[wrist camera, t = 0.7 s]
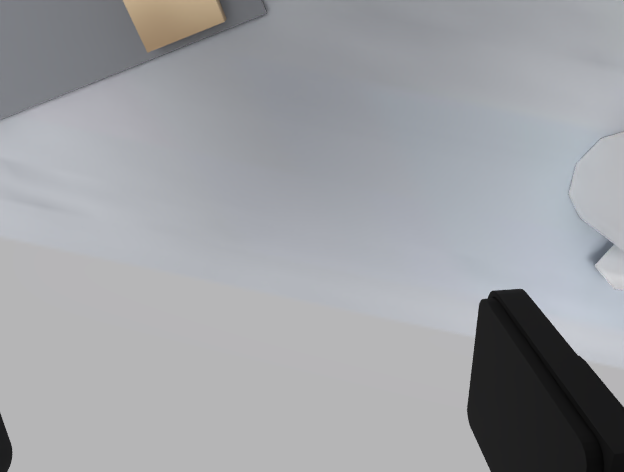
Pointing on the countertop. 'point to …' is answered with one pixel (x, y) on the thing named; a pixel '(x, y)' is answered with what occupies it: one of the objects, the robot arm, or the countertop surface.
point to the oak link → (172, 19)
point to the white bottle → (603, 201)
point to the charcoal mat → (79, 45)
